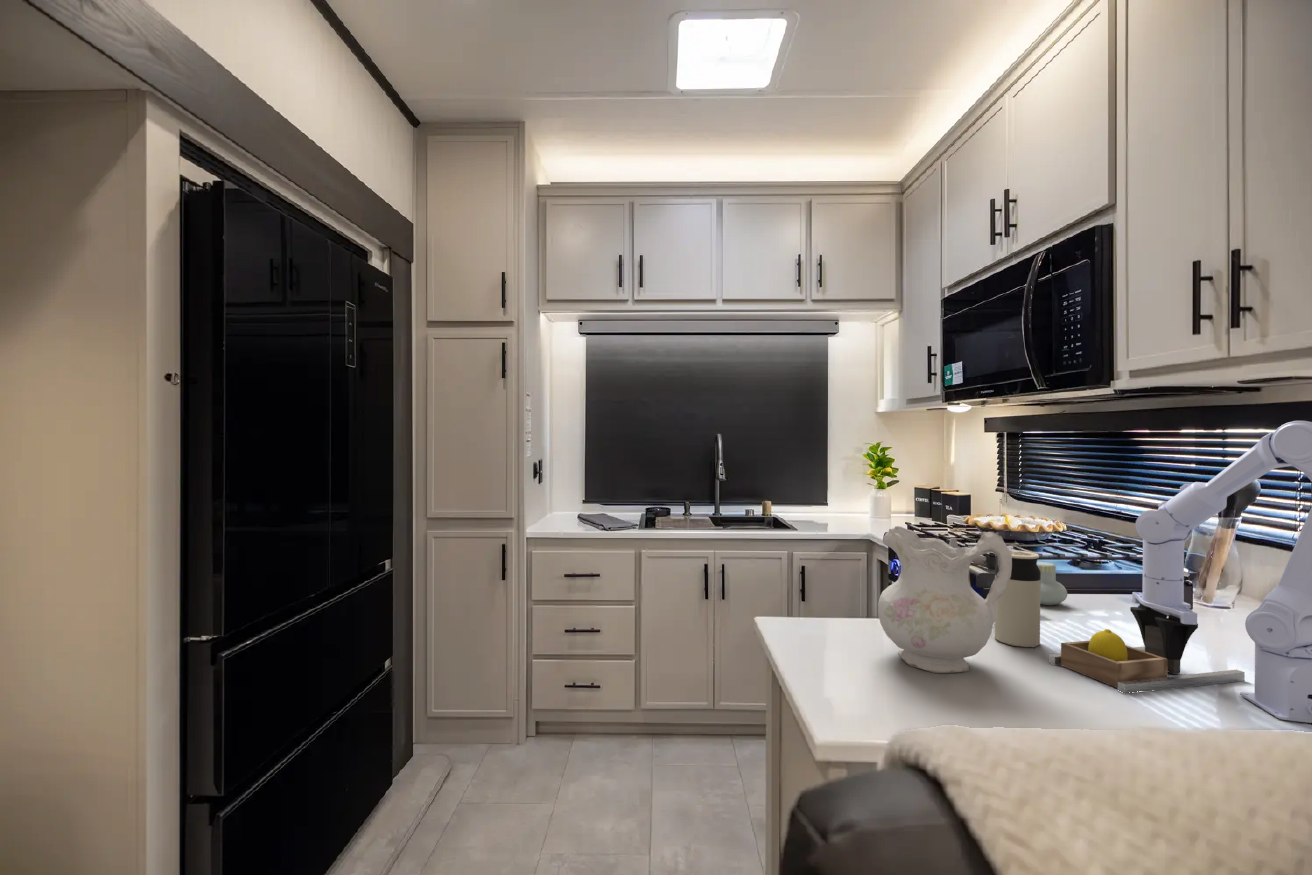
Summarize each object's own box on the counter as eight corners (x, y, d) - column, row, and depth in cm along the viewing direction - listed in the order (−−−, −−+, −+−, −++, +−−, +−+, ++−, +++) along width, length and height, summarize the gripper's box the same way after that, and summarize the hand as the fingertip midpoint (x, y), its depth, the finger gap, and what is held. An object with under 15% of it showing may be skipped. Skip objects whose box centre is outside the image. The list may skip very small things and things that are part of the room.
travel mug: (1029, 650, 119) (1030, 558, 119) (987, 639, 126) (987, 551, 126) (1046, 643, 124) (1047, 554, 124) (1005, 633, 130) (1006, 548, 131)
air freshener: (1072, 608, 151) (1073, 567, 151) (1040, 608, 151) (1040, 567, 151) (1042, 597, 162) (1043, 559, 162) (1012, 597, 162) (1012, 559, 162)
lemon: (1134, 682, 104) (1134, 635, 104) (1097, 679, 105) (1097, 632, 105) (1116, 670, 109) (1117, 625, 109) (1082, 668, 110) (1082, 623, 111)
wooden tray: (1117, 687, 101) (1117, 645, 101) (1060, 665, 111) (1061, 626, 111) (1199, 679, 105) (1200, 638, 105) (1137, 657, 116) (1138, 620, 116)
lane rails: (1124, 694, 99) (1125, 684, 99) (1049, 662, 113) (1049, 654, 113) (1244, 680, 105) (1244, 672, 105) (1158, 652, 119) (1158, 645, 119)
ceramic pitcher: (993, 658, 118) (991, 527, 120) (1025, 689, 99) (1022, 534, 101) (874, 647, 124) (874, 523, 126) (883, 675, 105) (882, 528, 107)
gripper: (1218, 588, 102) (1217, 669, 102) (1161, 570, 117) (1161, 641, 117) (1170, 585, 104) (1170, 666, 103) (1120, 568, 118) (1119, 639, 118)
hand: (1162, 653), depth 110 cm, fingers closed on wooden tray, 5 cm apart
